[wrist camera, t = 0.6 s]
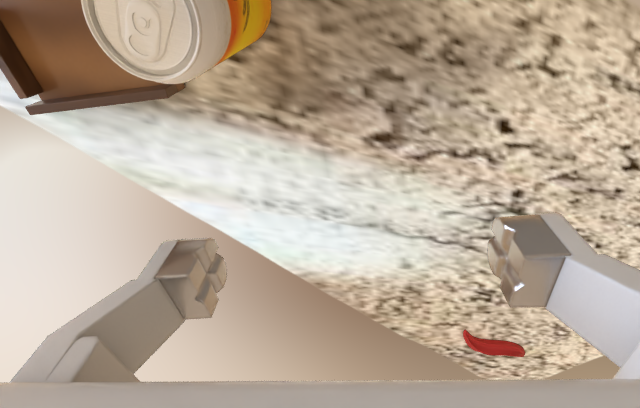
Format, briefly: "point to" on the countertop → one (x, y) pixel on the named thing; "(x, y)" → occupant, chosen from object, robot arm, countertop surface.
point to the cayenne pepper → (493, 346)
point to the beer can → (174, 33)
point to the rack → (64, 60)
